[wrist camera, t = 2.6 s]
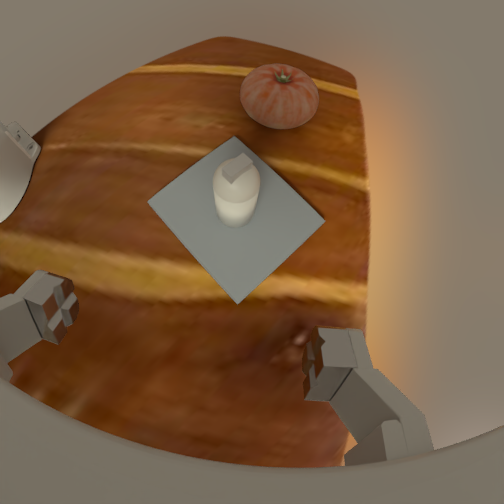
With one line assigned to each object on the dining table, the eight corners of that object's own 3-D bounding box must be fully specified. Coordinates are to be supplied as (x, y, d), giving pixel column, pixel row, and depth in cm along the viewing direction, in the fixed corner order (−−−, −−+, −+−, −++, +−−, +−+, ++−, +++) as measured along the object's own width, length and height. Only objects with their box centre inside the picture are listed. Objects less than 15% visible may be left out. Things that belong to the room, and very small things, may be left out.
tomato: (296, 153, 36) (310, 115, 28) (225, 123, 36) (224, 82, 28) (320, 106, 38) (335, 70, 30) (258, 81, 39) (263, 43, 31)
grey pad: (149, 204, 32) (147, 201, 31) (234, 140, 35) (234, 136, 34) (237, 304, 30) (237, 304, 29) (322, 223, 33) (325, 221, 32)
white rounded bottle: (208, 208, 32) (199, 163, 22) (236, 185, 33) (239, 135, 23) (233, 235, 31) (235, 198, 22) (262, 211, 32) (274, 167, 23)
